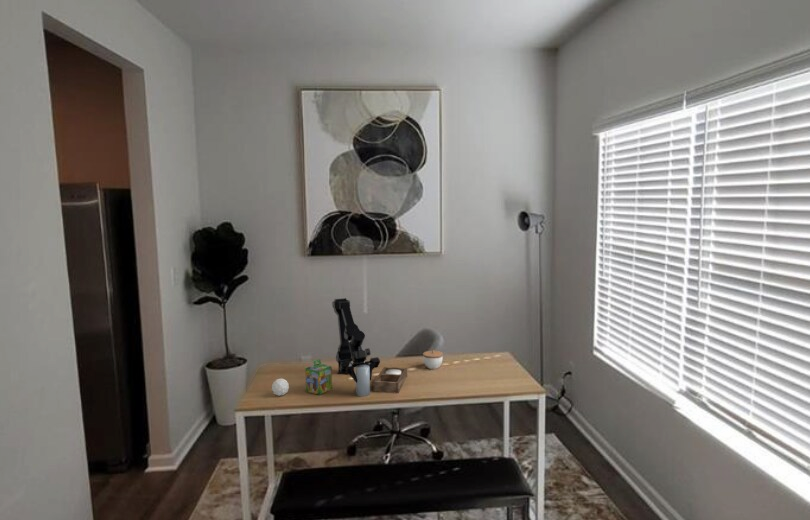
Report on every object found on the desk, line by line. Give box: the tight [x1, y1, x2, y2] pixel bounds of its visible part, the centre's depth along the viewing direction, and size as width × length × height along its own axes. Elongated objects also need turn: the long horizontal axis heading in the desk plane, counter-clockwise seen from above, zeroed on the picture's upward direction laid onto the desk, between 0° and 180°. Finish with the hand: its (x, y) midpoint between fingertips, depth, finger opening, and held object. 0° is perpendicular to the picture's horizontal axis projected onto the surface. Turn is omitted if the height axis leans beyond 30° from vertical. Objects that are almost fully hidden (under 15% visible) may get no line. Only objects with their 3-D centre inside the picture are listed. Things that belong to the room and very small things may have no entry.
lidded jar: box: [422, 349, 444, 370], centre depth 258 cm, size 11×11×9 cm
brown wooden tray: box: [373, 366, 408, 394], centre depth 234 cm, size 12×22×5 cm, turn 169°
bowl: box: [386, 369, 401, 375], centre depth 240 cm, size 8×8×3 cm
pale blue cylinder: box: [355, 365, 371, 398], centre depth 221 cm, size 6×6×13 cm
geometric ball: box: [271, 378, 290, 397], centre depth 222 cm, size 8×8×8 cm
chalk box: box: [305, 358, 333, 396], centre depth 226 cm, size 9×9×15 cm
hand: (363, 381), depth 220 cm, fingers closed on pale blue cylinder, 6 cm apart
